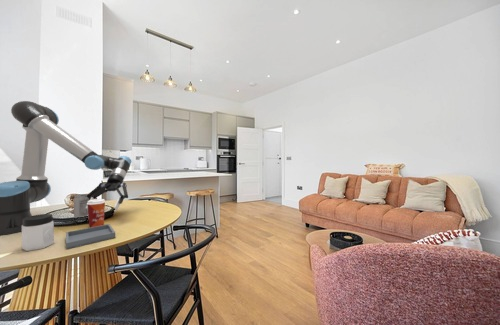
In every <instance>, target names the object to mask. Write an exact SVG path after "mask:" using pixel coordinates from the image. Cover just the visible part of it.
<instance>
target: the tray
mask: <svg viewBox="0 0 500 325" xmlns="http://www.w3.org/2000/svg"><path fill="white" fill-rule="evenodd" d="M112 239H116V231H115V230H114V228H113V227H112V225H111V223H107V224H104V225H101V226H96V227H91V228H90V227H87V228H81V229H75V230H71V231H66V232H65V249H66V250H70V249H74V248H78V247H82V246H86V245H91V244H95V243H100V242H103V241H107V240H112Z"/></svg>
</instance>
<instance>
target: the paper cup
mask: <svg viewBox="0 0 500 325" xmlns="http://www.w3.org/2000/svg"><path fill="white" fill-rule="evenodd" d="M88 200H89V199H88ZM106 203H107V202H106V199H104V198H95V199H94V200H89V201H88V203H87V204H88V224H89V227H88V228H91V227H96V226H101V225H105V224H104V221H105V207H106Z"/></svg>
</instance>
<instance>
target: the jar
mask: <svg viewBox="0 0 500 325" xmlns="http://www.w3.org/2000/svg"><path fill="white" fill-rule="evenodd" d="M53 219H54V217H53V214H52V213H45V214H44V213H42V214H35V215H32V216H29V217H26V218H24V219H23V225H22V231H21V249H22V250H24V251H25V252H30V251H36V250H37V251H38V250H42V249H44V248H47V247H49V246H51V245H53V244H55V231H54V230H55V229H54V227H55V226H54V220H53Z"/></svg>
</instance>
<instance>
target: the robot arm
mask: <svg viewBox="0 0 500 325" xmlns="http://www.w3.org/2000/svg"><path fill="white" fill-rule="evenodd" d="M10 113H11V115H12V117H13V118H14V119H15V120H16V121H18V122H19V123H21V124H22V129H24V130H25V141H24V149H23V157H22V166H21V174H20V175H19V176H17V177H16V180H11V181H4V182H0V236H3V235H10V234H15V233H22V225H23V219H24V218H26V217H29V216H33V215H32V212H31V204H33V203H35V202H39V201H41V200H43V199H45V198H46V197H48V196H49V195H50V192H51V190H52V189H51V188H52V187H51V185H50V184H49V183H48V179H49V178H48V177H47V176H45V171H46V165H47V155H48V146H49V140H50V141H51V142H52V143H54V144H55V145H57V146H59V147H60V148H61V149H63V150H64V151H66V152H67V153H69V154H70V155H72V156H73V157H75V158H76V159H78V160H79V161H81V162H82V163H83V164H84V165H85V167H86V168H87V169H89V170H92V171H93V170H94V171H97V170H101V169H105V170H106V169H107V170H112V171H111V172H110V175H109V176H108V178H107V180H106V183H102V182H99V184H98V185H97V186H96V187H95V188H94V189H93V190H92V191H90V192H89V193H87V197H88V201H89V200H94V199H98V197H100V196H101V195H103V194H105V193H108V192H115V191H117V193H118V195H119V196H118V197H117V200H116V202H115V204H114V206H113V208H114V209H115V210H116V211H118V210H119V207H120V205H121V204H123V201H124V199H128V198H129V194H128V190H127V183H126V182H124V180H125V178H126V175H127V174H128V171H129V168H130V167H131V164H132V159H131V158H130V157H129V156H127V155H120V156H119V157H118V158H117V157H111V156H109V155H108V156H107V155H102V154H98V153H97V152H95V151H94V150H92V149H91V148H90V147H88V146H87V145H85V144H84V143H83V142H81V141H80V140H78V139H77V138H76V137H74V136H73V135H72V134H70V133H69V132H67V131H66V130H65V129H63V128H62V127H60V126H59V125H58V124H59V120H60V119H59V116H58V114H57V113H56V112H55V111H54V110H52V109H51V108H49V107H47V106H44V105H41V104H39V103H37V102H33V101H29V100H21V101H19V102H16V103H14V104H13V105H12V107H11V110H10ZM120 188H122V190H123V193H122V192H121V190H120ZM87 203H88V202H87ZM86 209H87V210H88V204H87V206H86Z"/></svg>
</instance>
